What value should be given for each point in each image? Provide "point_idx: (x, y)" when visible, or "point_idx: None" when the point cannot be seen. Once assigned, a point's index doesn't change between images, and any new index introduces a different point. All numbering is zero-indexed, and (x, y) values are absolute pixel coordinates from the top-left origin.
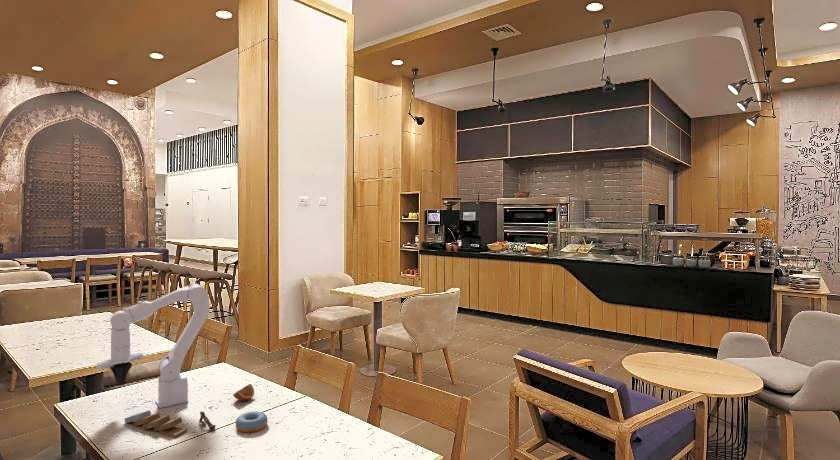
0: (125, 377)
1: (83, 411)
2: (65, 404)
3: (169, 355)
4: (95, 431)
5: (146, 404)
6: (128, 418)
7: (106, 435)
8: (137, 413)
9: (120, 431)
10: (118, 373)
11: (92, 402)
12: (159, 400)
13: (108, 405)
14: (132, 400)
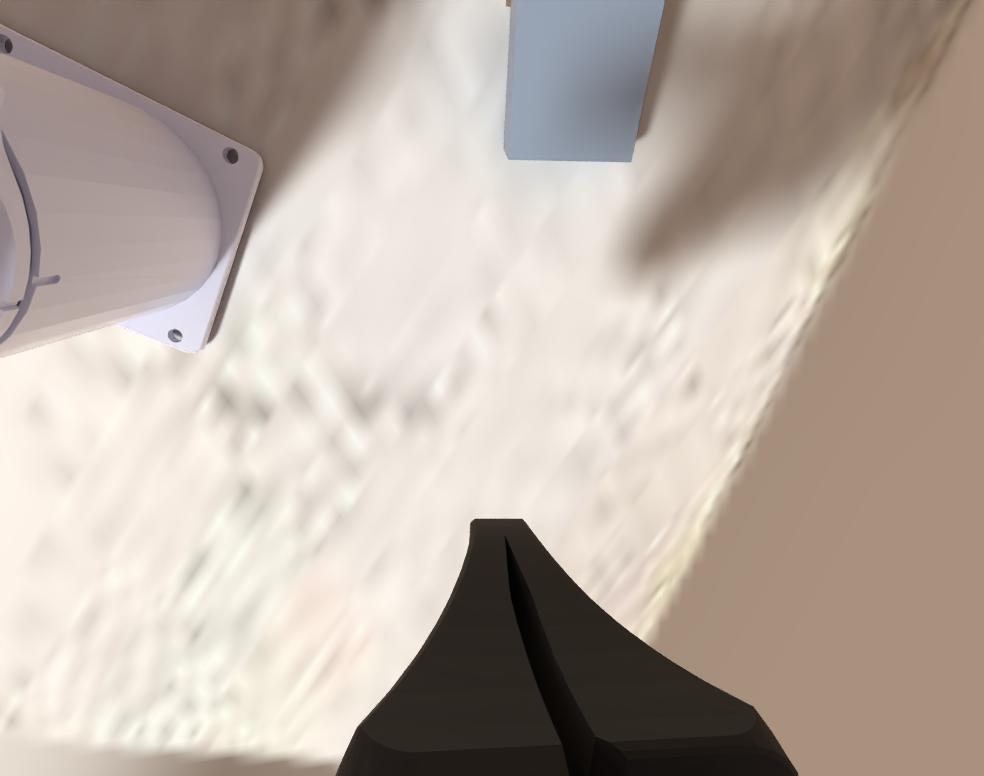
0: (475, 571)
1: None
2: None
3: None
4: (793, 231)
5: (286, 360)
6: (643, 90)
7: (829, 73)
8: (513, 144)
9: (744, 30)
10: (650, 652)
11: None
12: (205, 233)
13: (453, 571)
14: (306, 522)
